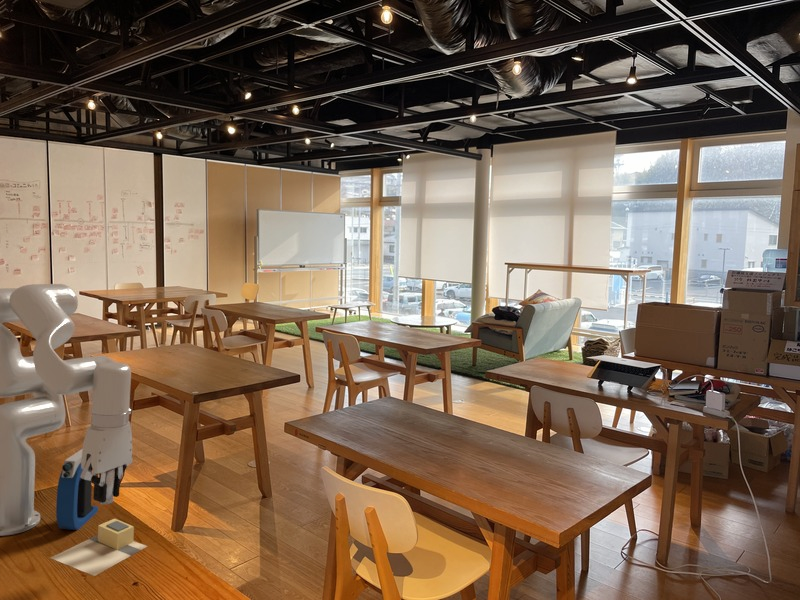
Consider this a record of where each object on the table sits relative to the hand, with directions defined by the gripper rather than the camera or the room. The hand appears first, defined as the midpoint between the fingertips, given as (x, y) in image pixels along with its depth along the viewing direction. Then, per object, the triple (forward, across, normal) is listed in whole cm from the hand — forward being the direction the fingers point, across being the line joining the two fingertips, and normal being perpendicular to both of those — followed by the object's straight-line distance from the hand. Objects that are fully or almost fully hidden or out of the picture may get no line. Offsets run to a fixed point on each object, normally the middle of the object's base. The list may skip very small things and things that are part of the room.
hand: (106, 497), depth 133 cm
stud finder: (+16, -8, -6) cm, 19 cm away
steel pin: (+1, 0, 0) cm, 1 cm away
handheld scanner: (+17, -11, -22) cm, 30 cm away
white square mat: (+17, -3, -5) cm, 18 cm away
